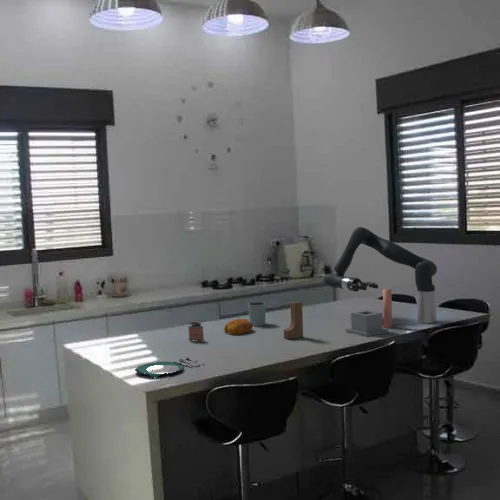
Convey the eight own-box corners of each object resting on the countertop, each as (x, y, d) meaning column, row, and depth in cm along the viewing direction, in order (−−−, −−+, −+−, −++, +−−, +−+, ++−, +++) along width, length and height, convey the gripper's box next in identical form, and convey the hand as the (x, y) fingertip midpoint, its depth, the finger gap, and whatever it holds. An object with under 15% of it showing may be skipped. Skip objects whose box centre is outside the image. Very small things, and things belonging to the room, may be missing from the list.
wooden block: (288, 339, 317) (287, 304, 316) (283, 338, 321) (282, 302, 319) (303, 337, 321) (302, 302, 320) (298, 335, 325) (297, 300, 324)
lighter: (205, 340, 324) (204, 320, 323) (202, 341, 321) (201, 322, 320) (190, 339, 327) (189, 320, 326) (187, 341, 324) (186, 321, 323)
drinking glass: (246, 325, 355) (245, 304, 354) (252, 322, 364) (251, 301, 363) (263, 326, 351) (262, 305, 350) (269, 322, 360) (268, 302, 359)
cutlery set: (127, 372, 270) (127, 367, 270) (185, 359, 290) (185, 354, 290) (152, 382, 255) (152, 376, 255) (211, 368, 275) (211, 362, 275)
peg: (387, 325, 339) (387, 288, 337) (394, 327, 336) (393, 289, 334) (381, 327, 337) (381, 289, 335) (387, 328, 333) (387, 290, 331)
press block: (367, 327, 337) (367, 309, 336) (388, 332, 324) (387, 312, 324) (346, 332, 329) (345, 312, 328) (366, 336, 316) (365, 317, 315)
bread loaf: (257, 334, 341) (258, 320, 341) (237, 336, 330) (238, 321, 330) (238, 331, 351) (239, 316, 351) (217, 332, 340) (218, 317, 340)
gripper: (341, 278, 353) (362, 281, 340) (360, 276, 361) (381, 279, 347) (342, 292, 354) (362, 295, 340) (361, 289, 362) (381, 292, 348)
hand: (371, 287), depth 344 cm, fingers open, 8 cm apart
